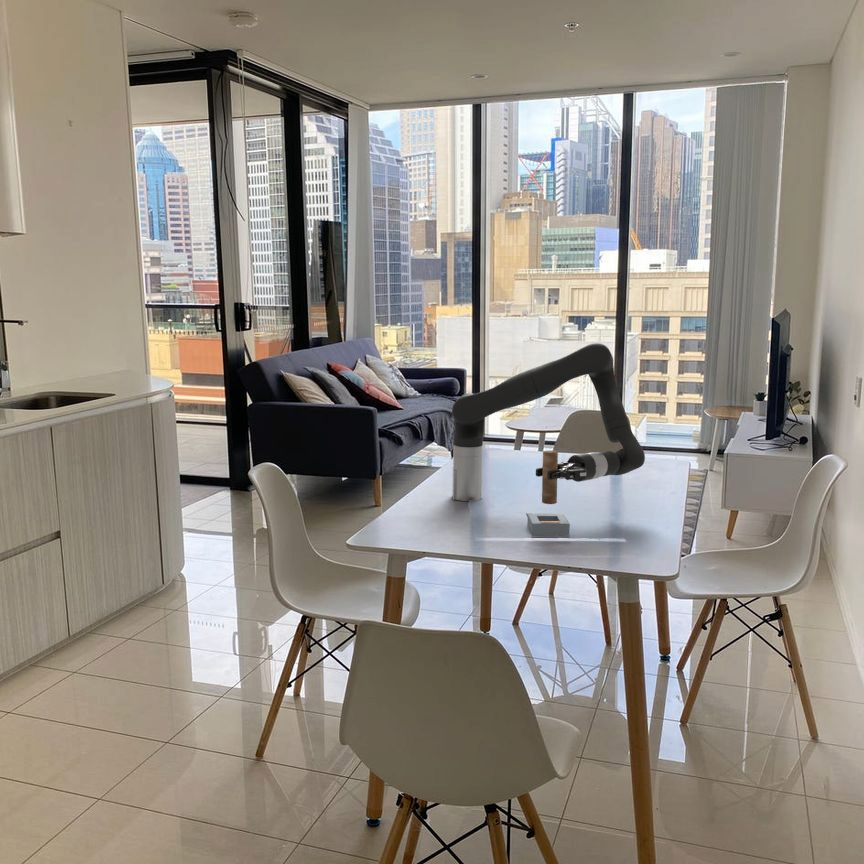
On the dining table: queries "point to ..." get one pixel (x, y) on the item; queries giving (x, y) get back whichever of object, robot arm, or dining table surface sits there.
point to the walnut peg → (548, 485)
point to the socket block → (548, 524)
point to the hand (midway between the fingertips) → (542, 474)
